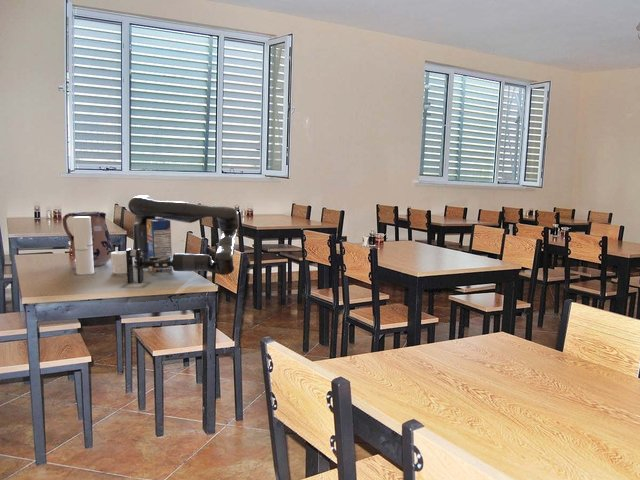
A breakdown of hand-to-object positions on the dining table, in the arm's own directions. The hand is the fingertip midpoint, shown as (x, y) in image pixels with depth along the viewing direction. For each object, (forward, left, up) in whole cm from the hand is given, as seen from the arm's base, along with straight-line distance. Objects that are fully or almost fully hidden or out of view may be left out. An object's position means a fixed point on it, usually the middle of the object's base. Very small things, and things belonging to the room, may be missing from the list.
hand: (146, 262), depth 274 cm
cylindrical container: (-15, -31, -8) cm, 36 cm away
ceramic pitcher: (-36, -37, -8) cm, 53 cm away
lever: (+6, -1, +2) cm, 7 cm away
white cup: (-11, -14, -8) cm, 20 cm away
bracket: (+11, -1, -8) cm, 13 cm away
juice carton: (-17, +1, -8) cm, 19 cm away
